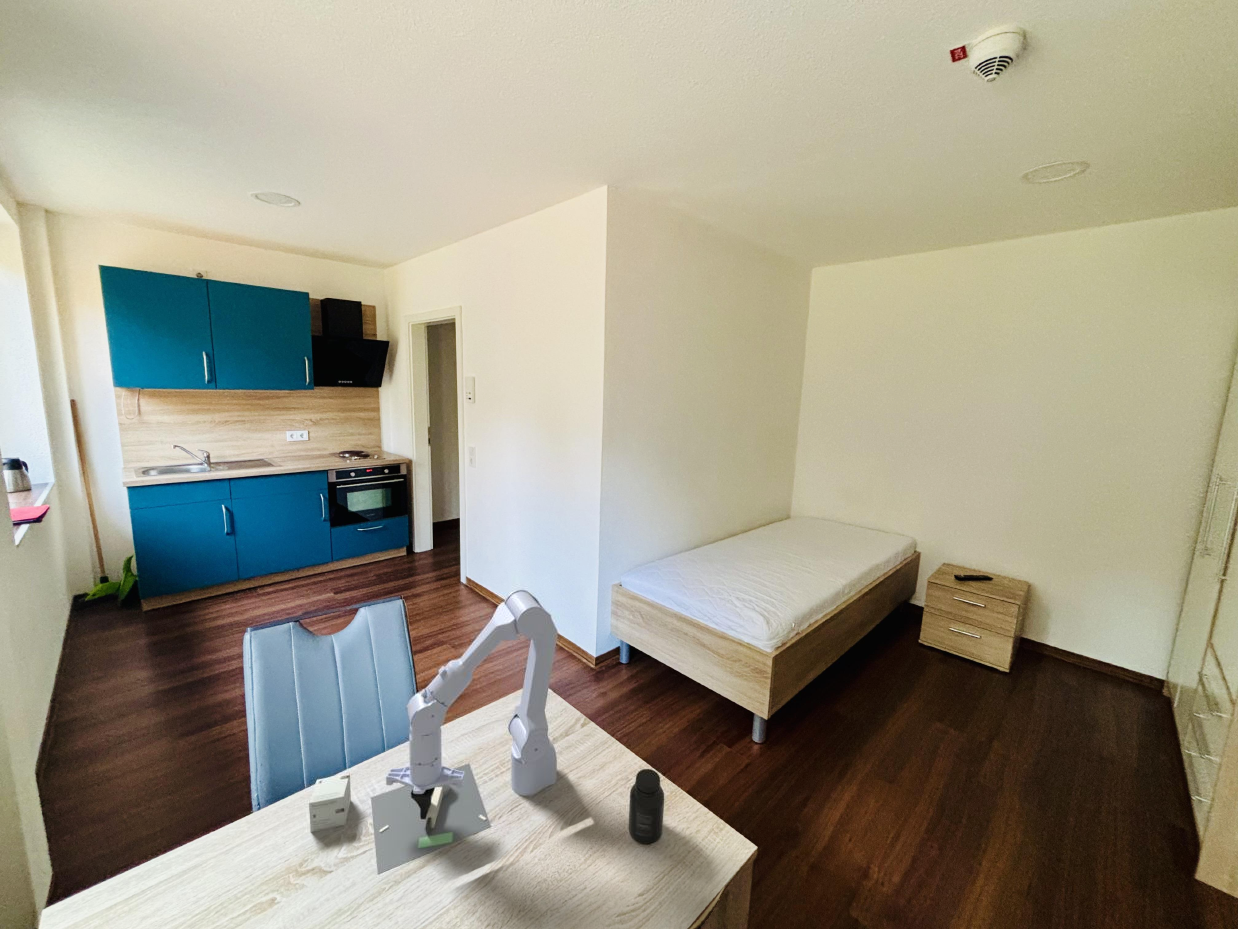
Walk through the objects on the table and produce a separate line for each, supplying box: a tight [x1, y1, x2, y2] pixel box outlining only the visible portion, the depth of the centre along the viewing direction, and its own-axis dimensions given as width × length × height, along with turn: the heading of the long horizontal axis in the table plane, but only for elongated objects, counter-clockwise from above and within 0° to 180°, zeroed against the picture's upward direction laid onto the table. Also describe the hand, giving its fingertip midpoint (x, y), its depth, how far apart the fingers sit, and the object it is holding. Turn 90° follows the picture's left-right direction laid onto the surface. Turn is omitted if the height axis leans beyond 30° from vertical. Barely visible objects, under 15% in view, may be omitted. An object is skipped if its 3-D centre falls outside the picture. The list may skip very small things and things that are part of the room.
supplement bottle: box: [628, 768, 665, 846], centre depth 96 cm, size 7×7×12 cm
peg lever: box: [426, 785, 450, 835], centre depth 99 cm, size 12×4×3 cm, turn 7°
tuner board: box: [370, 763, 492, 875], centre depth 98 cm, size 20×18×1 cm
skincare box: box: [308, 773, 352, 833], centre depth 96 cm, size 6×6×7 cm
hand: (426, 815), depth 96 cm, fingers closed, pressing on peg lever
